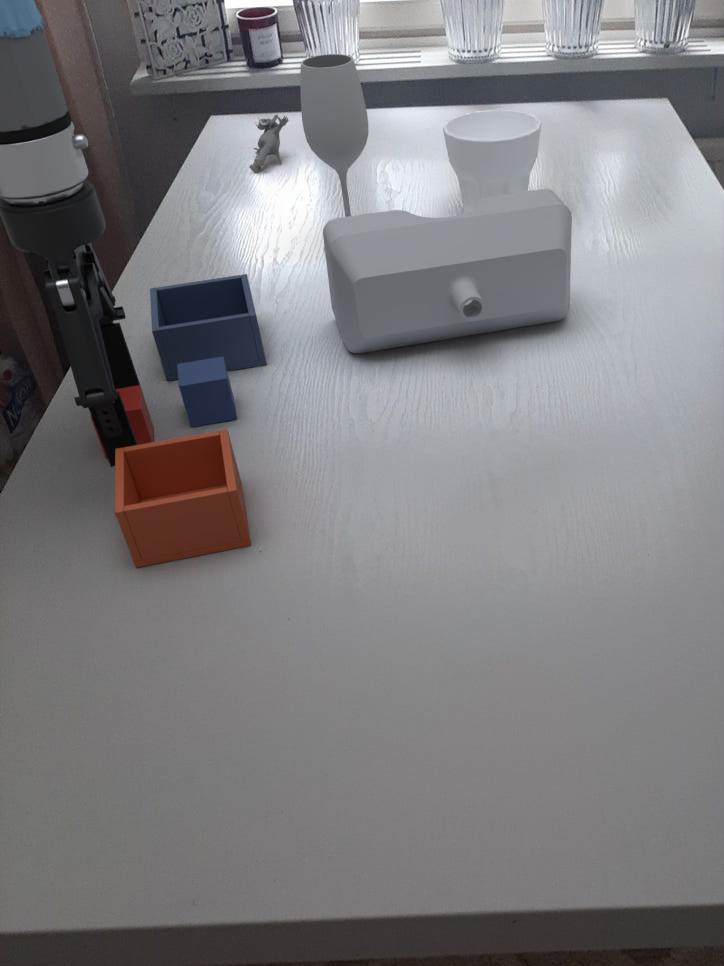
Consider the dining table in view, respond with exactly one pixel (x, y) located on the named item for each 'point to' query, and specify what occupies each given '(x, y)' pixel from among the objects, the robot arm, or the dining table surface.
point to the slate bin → (206, 324)
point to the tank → (449, 271)
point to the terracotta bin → (180, 498)
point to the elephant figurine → (268, 141)
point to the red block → (135, 415)
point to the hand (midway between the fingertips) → (126, 423)
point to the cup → (492, 152)
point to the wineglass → (334, 113)
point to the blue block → (206, 391)
